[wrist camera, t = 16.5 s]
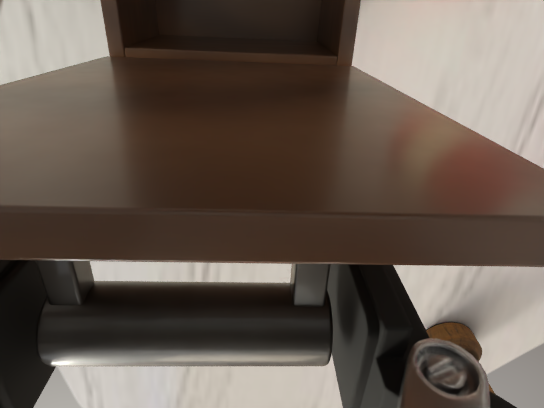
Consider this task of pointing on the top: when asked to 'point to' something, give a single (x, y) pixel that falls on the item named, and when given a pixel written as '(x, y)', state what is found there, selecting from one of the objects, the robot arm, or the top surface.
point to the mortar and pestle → (457, 338)
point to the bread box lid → (238, 202)
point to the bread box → (233, 30)
